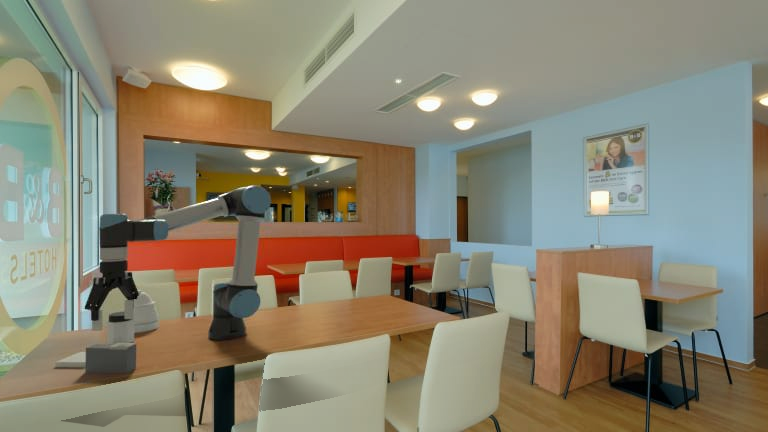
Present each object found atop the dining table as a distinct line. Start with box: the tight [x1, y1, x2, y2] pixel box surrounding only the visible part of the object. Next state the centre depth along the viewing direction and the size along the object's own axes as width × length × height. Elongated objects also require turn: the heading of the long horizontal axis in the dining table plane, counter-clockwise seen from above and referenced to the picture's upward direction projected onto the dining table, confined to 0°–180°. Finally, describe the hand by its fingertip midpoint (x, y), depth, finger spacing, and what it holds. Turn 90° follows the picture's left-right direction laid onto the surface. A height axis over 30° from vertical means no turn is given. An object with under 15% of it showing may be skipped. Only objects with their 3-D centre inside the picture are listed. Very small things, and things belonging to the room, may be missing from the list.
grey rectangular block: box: [84, 342, 137, 374], centre depth 121 cm, size 14×4×8 cm, turn 88°
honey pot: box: [134, 289, 160, 334], centre depth 170 cm, size 13×13×18 cm
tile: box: [55, 351, 86, 368], centre depth 129 cm, size 2×10×10 cm
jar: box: [106, 310, 135, 344], centre depth 149 cm, size 9×8×12 cm
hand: (114, 324), depth 122 cm, fingers open, 13 cm apart
